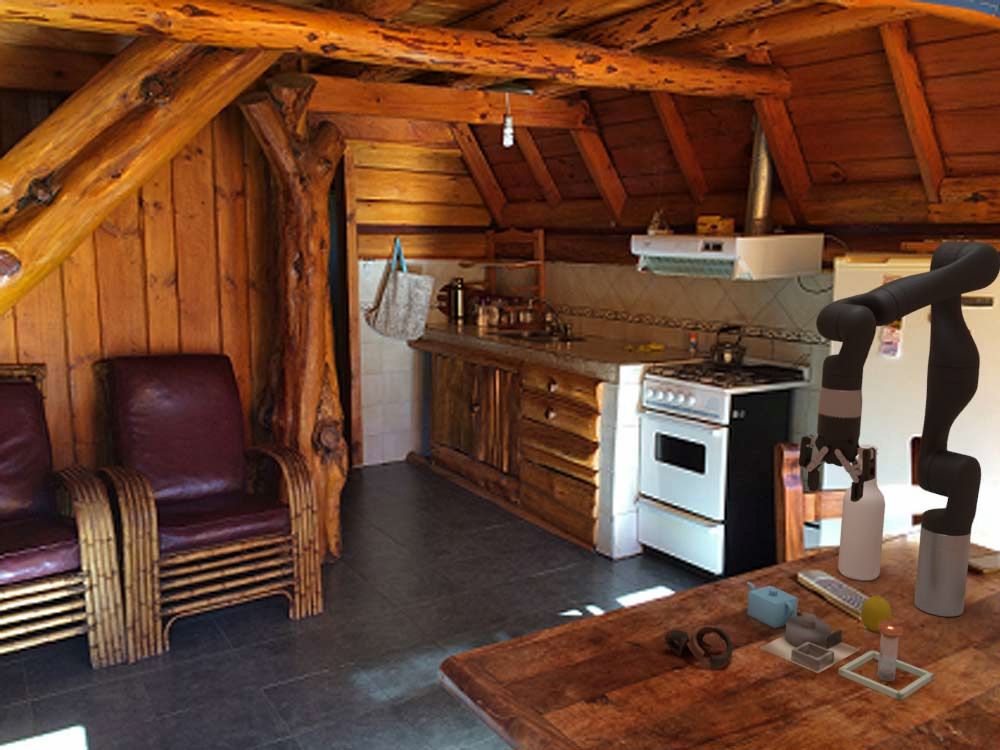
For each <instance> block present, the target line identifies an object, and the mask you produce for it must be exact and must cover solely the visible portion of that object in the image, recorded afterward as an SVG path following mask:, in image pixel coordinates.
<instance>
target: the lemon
mask: <svg viewBox="0 0 1000 750" xmlns="http://www.w3.org/2000/svg"><path fill="white" fill-rule="evenodd" d="M860 610H861V612H860V619H861V622H862V623H861V624H862V625H863V626H864V628H865V629H867V630H869V631H871V632H873V633H876V634H881V633H880V632H879V631H878V627H879V622H880V621H883V620H888V621H893V620H892V619H893V611H892V608H891V605H890V603H889V602H888V601H887V600H886V599H884V598H883V597H881V596H880V595H878V594H877V595H875V596H870V597H868V598H866V600H865V601H864V602H863V603H862V607H861V609H860Z"/></svg>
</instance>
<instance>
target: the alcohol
mask: <svg viewBox="0 0 1000 750" xmlns="http://www.w3.org/2000/svg"><path fill="white" fill-rule="evenodd" d="M859 446H860V447H861V448H871V447H873V448H875V450H876V457H875V478H874V479H872V480H869V481H866V482H864V488H863V497H862V498H861V499H860V500H859V501H857V502H853V501H851V486H850V487H848V488H847V490H845V492H844V495H843V498H842V509H841V522H840V523H841V524H840V536H839V537H840V539H839V549H838V550H839V552H838V565H837V567H838V568H837V569H838V571H839V573H840V574H841V575H842V576H843V577H845V578H848V579H851V580H853V581H862V582H869V581H874V580H876V579H877V578H878V577H879V575H881V564H882V563H881V561H882V549H883V548H882V547H883V537H884V536H883V534H884V522H885V512H886V500H885V496H884V494H883V493H882V491H881V489H880V488H879V487H878V477H877V475H878V472H877V469H878V467H877V466H878V465H877V463H878V462H877V461H878V460H877V459H878V457H877V456H878V449H879V448H878V447H877V446H876V445H874V444H867V443H865V444H864V443H863V444H859ZM857 460H858V461H859V463H860V465H861V470H862V459H861V458H860V454H858V455H857Z"/></svg>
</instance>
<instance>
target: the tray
mask: <svg viewBox="0 0 1000 750" xmlns="http://www.w3.org/2000/svg"><path fill="white" fill-rule="evenodd" d="M873 659H874V660H876V661H879V652H878V651H876V650H873V649H871V650H869V651H867V652H865V653H864V654H862V655H860V656H858V657H857V658H854V659H853V660H852V661H850V662H848V663H846V664H844V665H843V666H841V667H839V668H838V670H837V671H838V673H837V675H838V676H841V677H843V678H846V679H848V680H851V681H853V682H855V683H858V684H860V685H863V686H865V687H866V688H869V689H872V690H873V691H876V692H879V693H880V694H883V695H886V696H888V697H891V698H893V699H896V700H897V701H900V702H902V701H903V700H905V699H906V698H908V697H909V696H910V695H912V694H914V693H915V692H917V691H918V690H920V689H921V688H923V687H924V686H926V685H927V684H929V683H930V682H931V681H933V680H934V674H935V673H933V672H930V671H927V670H924V668H923V669H922V668H919V667H918V666H917V667H916V666H915V665H912V664H910V663H907V662H905V661H901V660H899V659H897V661H896V669H900V670H902V671H905V672H907V673H910V674H913V675H915V676H917V677H919V678H918V679H916V680H914V681H913V682H911V683H910V684H908V685H906V686H905V687H904V688H902V689H900V690H896V689H894V688H892V687H889V686H887V685H884V684H882V683H879V682H877V681H875V680H873V679H870V678H867V677H866V676H863V675H860V674H858V673H856V672H853V671H854V670H856V669H858V667H860V666H863V665H864V664H866V663H868V662H869V661H871V660H873Z"/></svg>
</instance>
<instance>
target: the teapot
mask: <svg viewBox="0 0 1000 750" xmlns="http://www.w3.org/2000/svg"><path fill="white" fill-rule="evenodd" d="M746 584H748V586H749V588H750V590H749V591H748V596H747V597H748V599H747V615H748V616H750V617H752V618H753V619H756V620H757V621H760V622H762V623H764V624H765V625H768V626H769V627H772V628H773V629H776V628H780V627H784V626H786V621H787V620H788V619H790V618H793V617H798V602H799V601H798V600H799V598H798V597H796V596H794V595H792V594H790V593H787V592H785V591H783V590H781V589H779V588H777V587H775V586H772V585H768V586H767V585H766V586H764V587H760V588H757V589H756V586H755V584H754V583H752V582H751V581H746Z"/></svg>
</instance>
